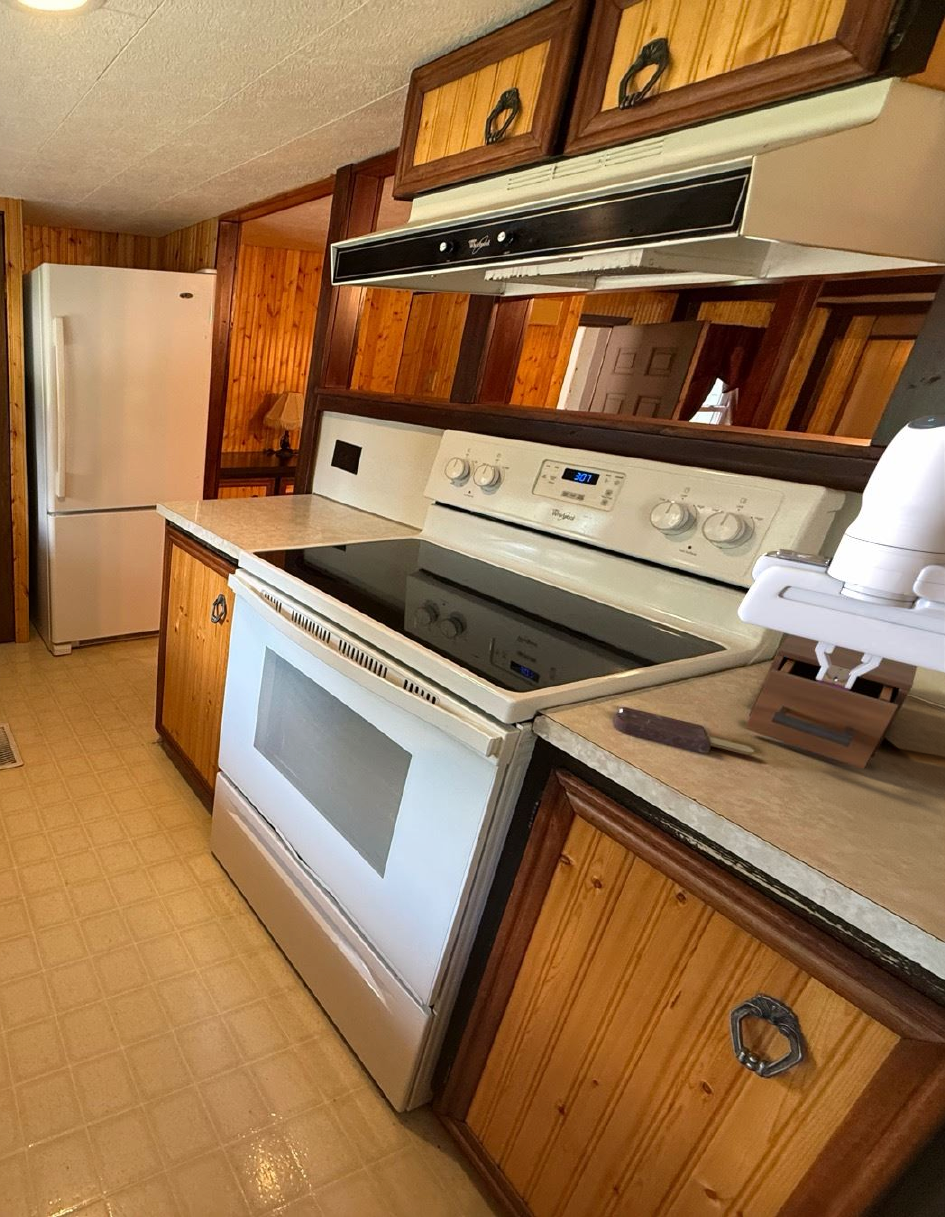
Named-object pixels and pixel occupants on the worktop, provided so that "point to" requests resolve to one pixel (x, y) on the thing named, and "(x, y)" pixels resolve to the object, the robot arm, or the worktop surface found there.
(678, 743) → the ice cream bar
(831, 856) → the worktop surface
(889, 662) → the cabinet
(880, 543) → the robot arm
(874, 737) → the drawer
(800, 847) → the worktop surface
